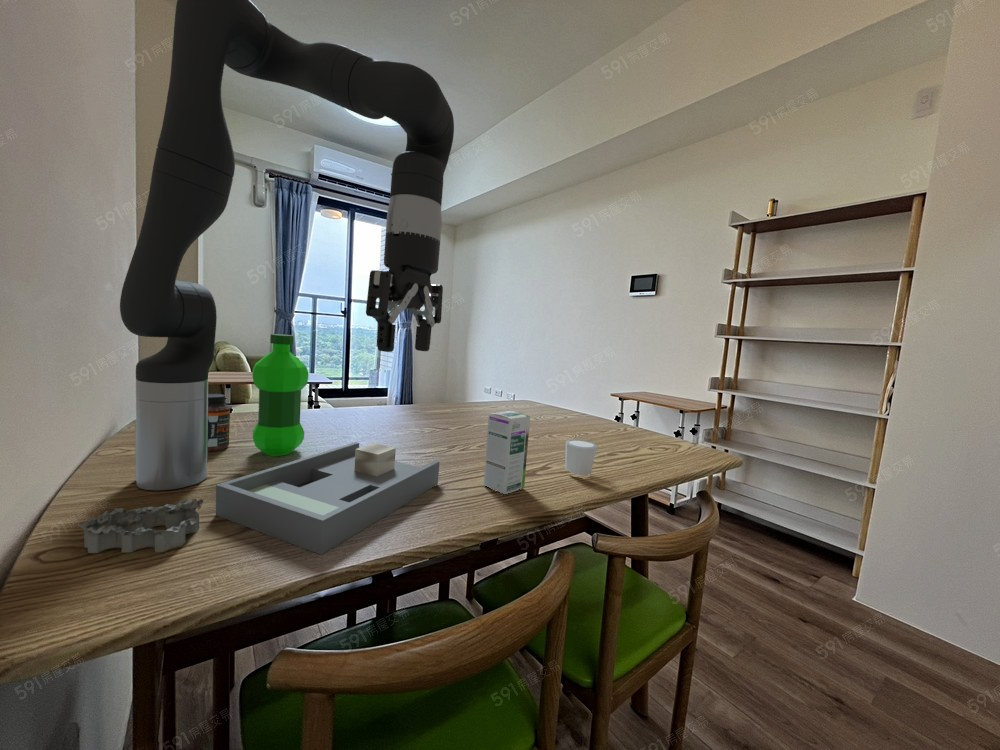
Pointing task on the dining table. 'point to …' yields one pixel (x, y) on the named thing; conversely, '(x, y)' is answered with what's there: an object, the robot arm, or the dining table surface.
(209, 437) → the supplement bottle
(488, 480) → the syrup box
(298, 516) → the box
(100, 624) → the dining table surface
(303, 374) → the plastic bottle
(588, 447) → the white cylinder
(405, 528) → the dining table surface
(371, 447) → the block
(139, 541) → the grey cookie cutter
